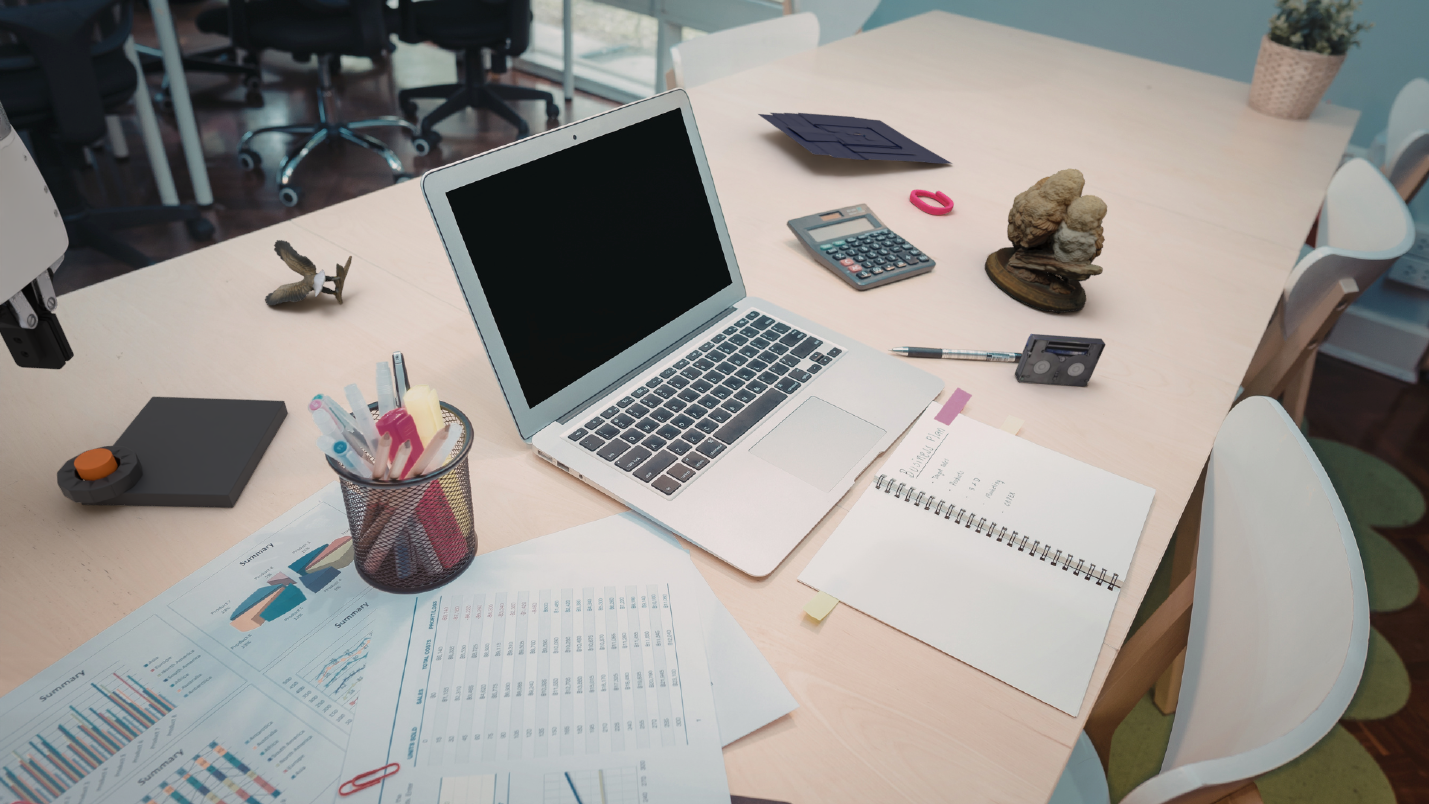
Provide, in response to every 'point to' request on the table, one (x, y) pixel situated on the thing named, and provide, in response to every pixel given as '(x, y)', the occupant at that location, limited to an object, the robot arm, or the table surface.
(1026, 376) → the mini dv tape
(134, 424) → the scale
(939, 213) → the fitness band
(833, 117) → the navy patterned tile
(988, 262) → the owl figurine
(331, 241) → the table surface
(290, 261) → the eagle figurine
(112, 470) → the button
